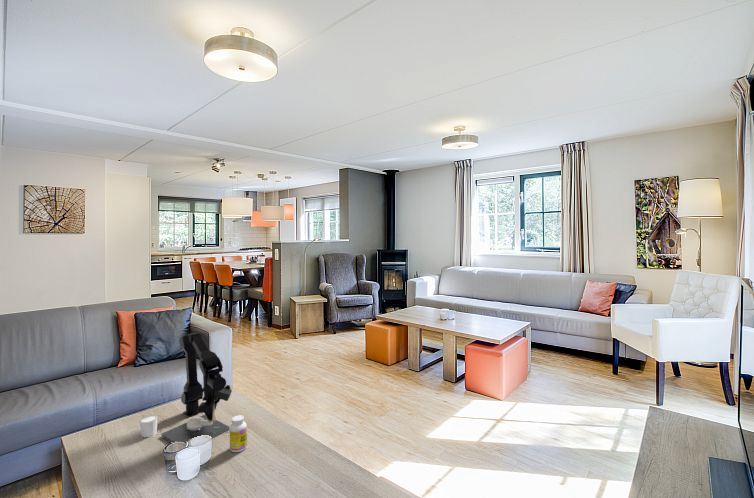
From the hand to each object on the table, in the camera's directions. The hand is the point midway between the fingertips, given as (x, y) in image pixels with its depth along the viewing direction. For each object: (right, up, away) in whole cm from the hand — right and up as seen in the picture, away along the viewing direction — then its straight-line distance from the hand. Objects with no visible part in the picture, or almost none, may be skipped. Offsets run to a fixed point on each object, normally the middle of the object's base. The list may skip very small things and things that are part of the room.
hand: (211, 418), depth 163 cm
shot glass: (-28, -7, 0) cm, 29 cm away
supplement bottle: (+17, -7, -12) cm, 22 cm away
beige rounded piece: (-4, -3, 0) cm, 5 cm away
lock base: (-7, -6, 0) cm, 9 cm away
